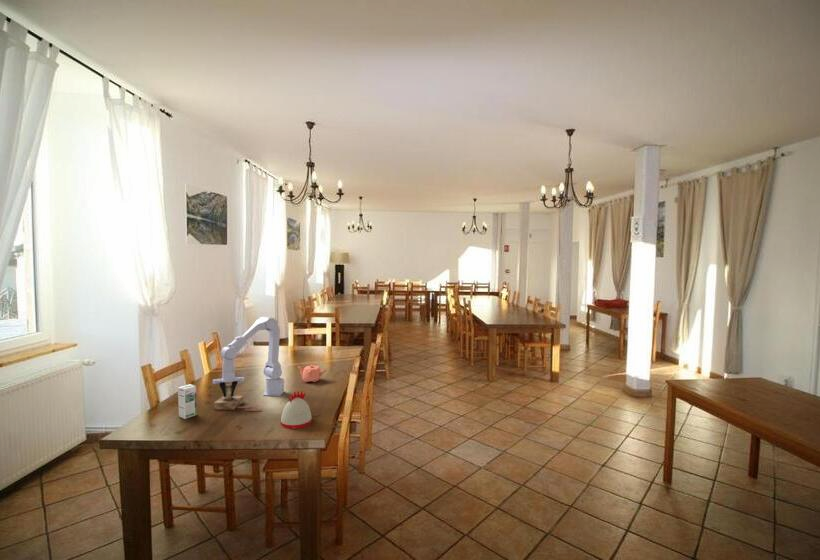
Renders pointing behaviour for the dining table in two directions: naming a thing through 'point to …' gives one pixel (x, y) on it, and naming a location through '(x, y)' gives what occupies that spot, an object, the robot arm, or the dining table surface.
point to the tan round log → (228, 392)
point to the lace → (248, 409)
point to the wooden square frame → (228, 403)
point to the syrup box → (187, 401)
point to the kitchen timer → (296, 412)
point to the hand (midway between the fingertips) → (228, 396)
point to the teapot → (311, 373)
